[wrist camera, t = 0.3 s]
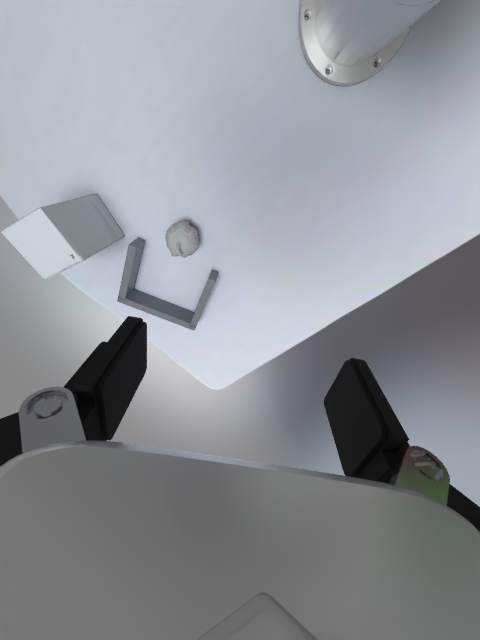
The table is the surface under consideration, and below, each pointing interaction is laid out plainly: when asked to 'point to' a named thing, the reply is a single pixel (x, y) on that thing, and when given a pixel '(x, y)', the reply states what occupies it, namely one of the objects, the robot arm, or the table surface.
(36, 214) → the supplement box
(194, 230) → the garlic
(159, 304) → the box
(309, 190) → the table surface
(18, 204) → the table surface
